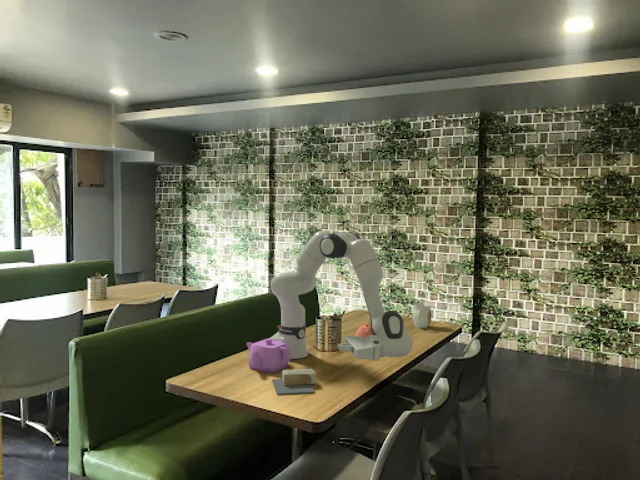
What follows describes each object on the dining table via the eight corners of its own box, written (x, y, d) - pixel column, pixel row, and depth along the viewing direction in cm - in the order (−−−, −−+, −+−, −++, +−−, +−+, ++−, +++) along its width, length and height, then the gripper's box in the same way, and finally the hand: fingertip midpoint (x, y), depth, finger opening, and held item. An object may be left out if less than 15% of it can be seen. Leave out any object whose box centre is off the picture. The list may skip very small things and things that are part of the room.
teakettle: (291, 372, 217) (292, 343, 217) (251, 374, 213) (251, 345, 212) (283, 360, 234) (284, 333, 233) (245, 362, 229) (246, 335, 229)
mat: (306, 379, 209) (306, 377, 209) (314, 393, 193) (314, 391, 193) (272, 380, 206) (272, 379, 206) (277, 395, 190) (277, 393, 190)
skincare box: (312, 379, 207) (281, 380, 205) (312, 368, 207) (282, 369, 205) (315, 384, 201) (283, 385, 199) (315, 373, 201) (283, 374, 199)
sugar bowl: (378, 340, 272) (379, 321, 271) (379, 348, 258) (379, 327, 258) (355, 339, 273) (355, 320, 273) (354, 346, 259) (354, 326, 259)
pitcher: (408, 329, 299) (409, 305, 298) (415, 323, 315) (416, 300, 315) (427, 331, 295) (428, 307, 294) (433, 325, 311) (434, 302, 310)
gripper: (365, 331, 215) (332, 332, 213) (380, 345, 195) (345, 346, 193) (364, 346, 216) (331, 347, 213) (380, 362, 196) (344, 363, 193)
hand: (338, 347), depth 203 cm, fingers closed
